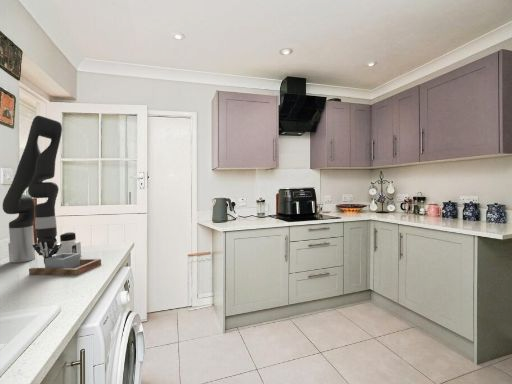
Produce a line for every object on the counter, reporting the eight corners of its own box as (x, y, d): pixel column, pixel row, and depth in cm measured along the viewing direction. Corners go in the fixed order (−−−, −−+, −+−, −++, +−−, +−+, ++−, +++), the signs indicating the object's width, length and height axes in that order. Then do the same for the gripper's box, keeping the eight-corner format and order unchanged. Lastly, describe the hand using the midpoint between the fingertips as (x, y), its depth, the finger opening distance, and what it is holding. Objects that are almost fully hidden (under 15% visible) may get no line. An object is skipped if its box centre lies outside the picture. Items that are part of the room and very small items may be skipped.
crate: (45, 272, 116) (44, 259, 116) (62, 265, 125) (61, 253, 125) (64, 272, 115) (63, 259, 115) (80, 266, 124) (79, 253, 124)
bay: (29, 274, 114) (28, 268, 114) (58, 263, 129) (58, 258, 129) (76, 275, 111) (76, 269, 111) (101, 264, 126) (100, 258, 126)
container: (81, 255, 142) (80, 231, 141) (70, 260, 134) (68, 234, 134) (68, 255, 143) (66, 231, 142) (55, 260, 135) (54, 234, 134)
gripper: (24, 228, 117) (27, 267, 118) (51, 228, 115) (54, 267, 116) (40, 225, 124) (42, 261, 125) (66, 225, 123) (68, 262, 124)
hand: (48, 264), depth 121 cm, fingers closed
